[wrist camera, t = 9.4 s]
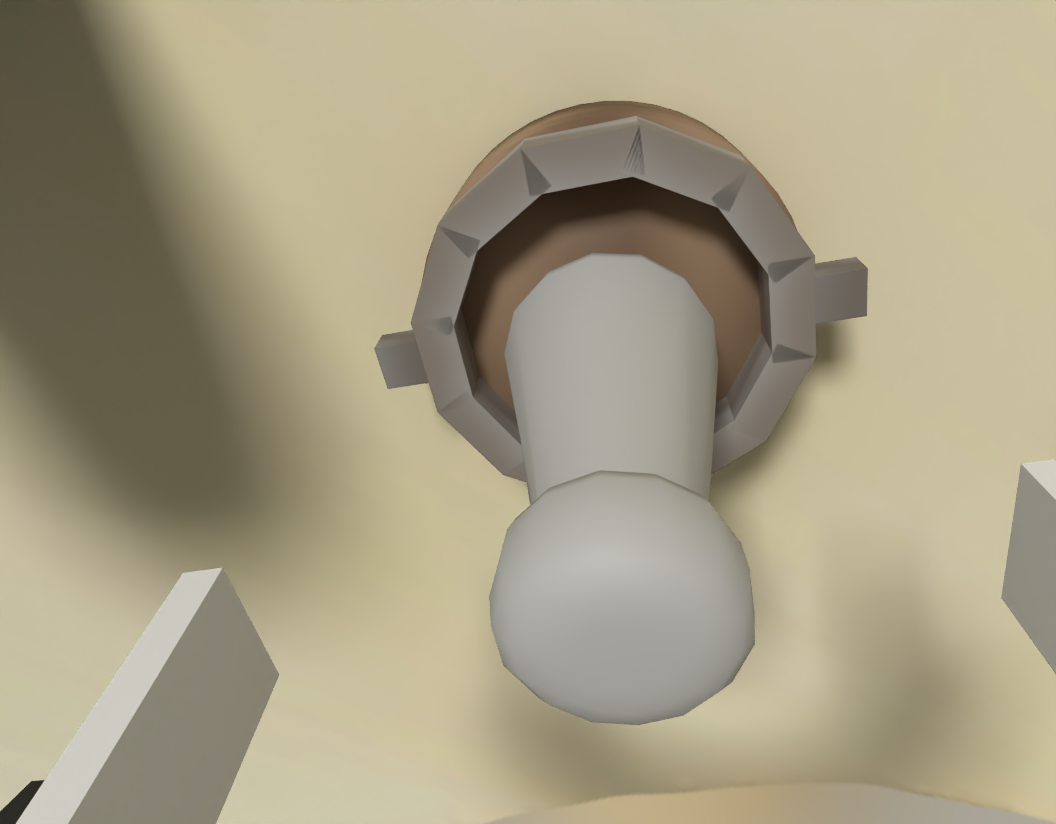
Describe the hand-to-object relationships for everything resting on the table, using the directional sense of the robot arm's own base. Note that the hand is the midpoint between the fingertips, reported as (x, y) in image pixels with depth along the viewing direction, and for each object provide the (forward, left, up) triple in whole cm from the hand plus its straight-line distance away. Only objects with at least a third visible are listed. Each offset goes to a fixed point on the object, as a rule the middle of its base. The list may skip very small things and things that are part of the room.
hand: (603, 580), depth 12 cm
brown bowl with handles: (0, 0, -14) cm, 14 cm away
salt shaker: (0, 0, -12) cm, 12 cm away
